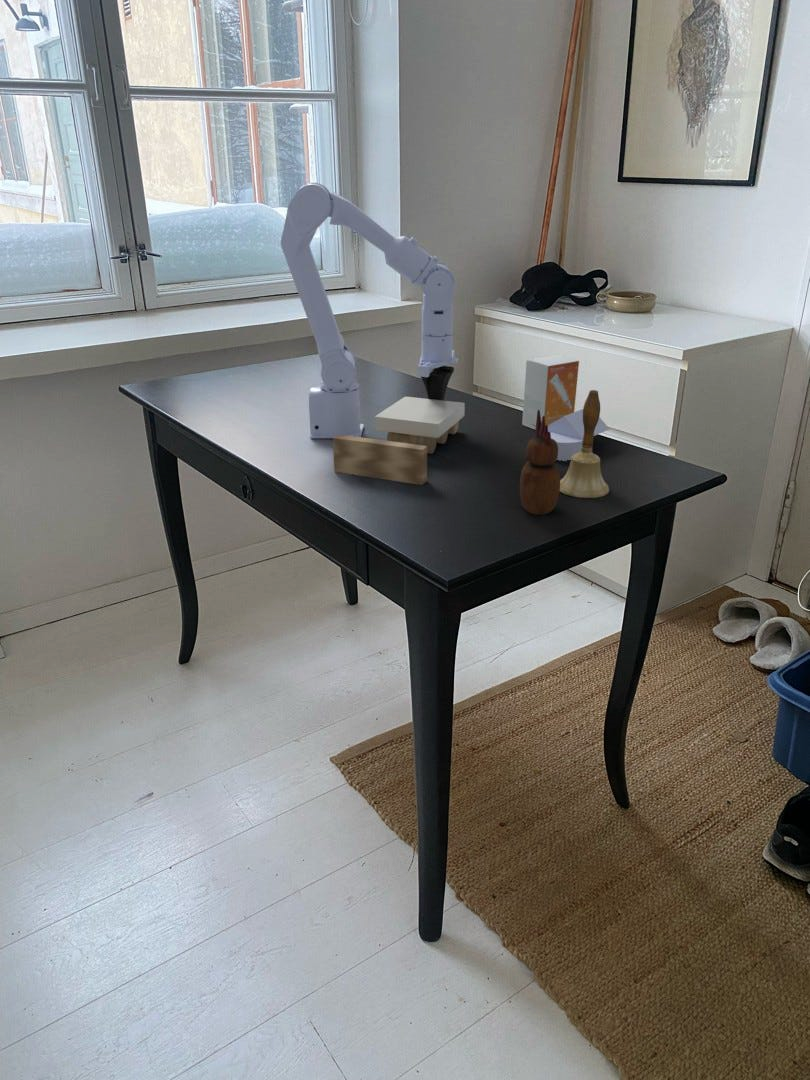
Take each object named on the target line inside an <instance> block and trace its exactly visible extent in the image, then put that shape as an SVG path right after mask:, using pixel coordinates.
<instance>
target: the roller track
mask: <svg viewBox="0 0 810 1080" xmlns="http://www.w3.org/2000/svg"><path fill="white" fill-rule="evenodd" d="M459 425H460V420H459V421H458V422H457V423H455V424H454V425H453V426H452V427H451V428H450V429H448V430H447V431H446V432H445V433H444V434H442V435H441V436H440V437H439V438H434V437H426V436H418V435H410V434H402V433H394V432H387V436H386V441H393V442H400V443H408V444H416V445H423V446H427V454H434V452H435V450H436V447H437V444H441V445H443V444H445V443H446V441H447V439H448V435H449V434H451V435H455V434H456V433H457V431H458V429H459Z"/></svg>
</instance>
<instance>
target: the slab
mask: <svg viewBox="0 0 810 1080" xmlns="http://www.w3.org/2000/svg"><path fill="white" fill-rule="evenodd" d="M465 404H466V403H465V402H460V401H452V400H451V401H450V400H444V401H442V400H433V399H428V398H422V397H413V396H404V397H402V398H401V399H399V400H398V401H395V403H393V404H391V405H390V406H388V407H387V408H385V409H384V410H382V411H381V412H379V413H378V414H376V415H374V431H380V432H387V433H388V432H394V433H402V434H410V435H418V436H426V437H434V438H439V437H440V436H441V435H442V434H444V433H445V432H446V431H447V430H448V429H450V428H451V427H452V426H453V425H454V424H455V423H457V422H458V421H459V422H460V420H461V419H463V418H464V417H465V412H466V411H465V409H466V407H465Z"/></svg>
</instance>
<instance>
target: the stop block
mask: <svg viewBox="0 0 810 1080" xmlns="http://www.w3.org/2000/svg"><path fill="white" fill-rule="evenodd" d="M332 447H333V448H332V449H333V471H334V472H335V473H339V472H341V474H346V473H347V475H352V474H354V476H360V477H366V478H374V479H380V480H387V481H394V482H400V483H406V484H414V485H420V486H423V485H424V484H426V483H427V481H428V453H427V446H423V445H416V444H408V443H400V442H393V441H387V440H385V439H384V440H383V439H376V438H368V437H362V436H361V437H355V436H347V435H340V434H338V435H336V436H335V437H333V438H332Z"/></svg>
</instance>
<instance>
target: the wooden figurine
mask: <svg viewBox="0 0 810 1080" xmlns="http://www.w3.org/2000/svg"><path fill="white" fill-rule="evenodd" d="M534 430H535V431H534V437H533V438H531V439H530V440H529V441H528V443H527V446H526V451H525V452H526V453H525V457H526V460H527V462H526V463H525V464H524V465H523V467H522V469H521V473H520V479H519V495H520V502H521V506H522V508H523V509H524V510H525V511H526V512H527V513H530V514H532V515H536V516H543V515H547V514H550V513H551V512H553V510H554V509H555V506H556V505H557V502H558V500H559V496H560V493H561V492H560V480H561V476H560V470H559V468H558V467H557V466H556V464H555V462H557V461H556V460H557V458H558V444H557V442H556V441H555V440H554V439H552V438H551V433H550V432H548V425H545V416H543V417H542V421H541V417H540V410H538V412H537V420H536V429H534Z"/></svg>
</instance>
